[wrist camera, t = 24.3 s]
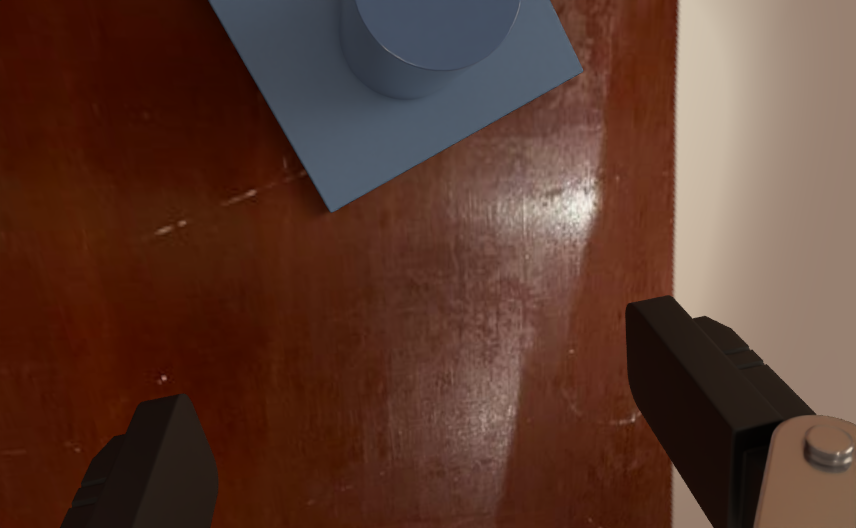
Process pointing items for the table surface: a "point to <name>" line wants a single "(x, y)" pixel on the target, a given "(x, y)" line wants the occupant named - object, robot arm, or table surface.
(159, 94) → the table surface
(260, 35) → the board
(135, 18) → the table surface
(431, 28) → the blue cylinder
